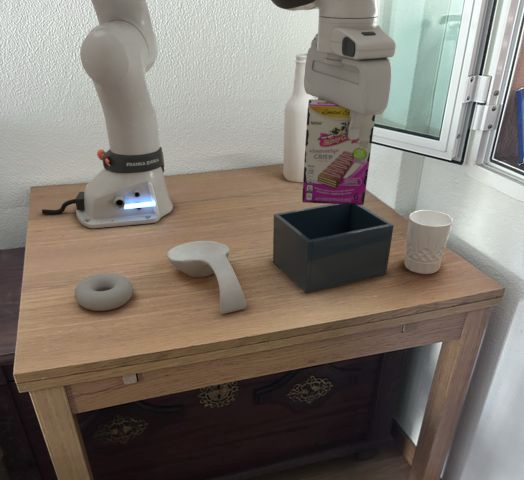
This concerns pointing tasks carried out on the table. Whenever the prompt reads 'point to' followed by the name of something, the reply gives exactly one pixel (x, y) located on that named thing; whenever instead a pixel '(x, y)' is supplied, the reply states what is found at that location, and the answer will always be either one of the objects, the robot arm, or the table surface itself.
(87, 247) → the table surface
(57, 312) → the table surface
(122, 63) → the robot arm
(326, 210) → the holder
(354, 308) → the table surface
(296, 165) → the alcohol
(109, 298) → the donut
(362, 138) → the candy bar box
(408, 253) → the white cup
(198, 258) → the spoon rest
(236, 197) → the table surface
